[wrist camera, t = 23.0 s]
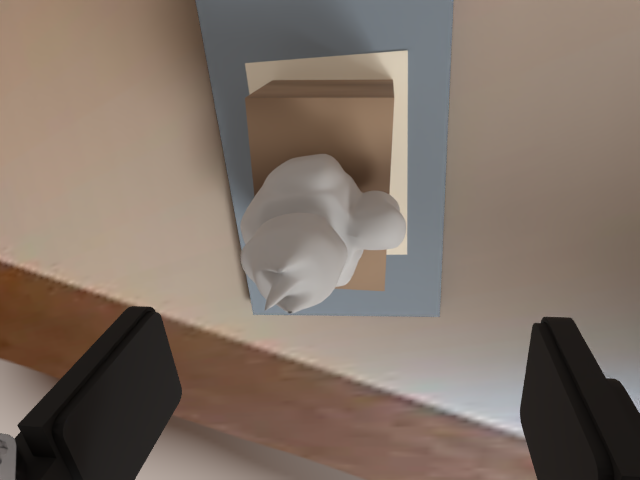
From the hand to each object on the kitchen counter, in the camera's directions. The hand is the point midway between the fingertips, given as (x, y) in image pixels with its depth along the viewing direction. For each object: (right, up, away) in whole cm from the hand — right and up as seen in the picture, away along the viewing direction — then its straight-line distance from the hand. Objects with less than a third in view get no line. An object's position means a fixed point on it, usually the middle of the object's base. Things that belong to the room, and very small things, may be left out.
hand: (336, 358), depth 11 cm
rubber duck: (0, +5, +9) cm, 10 cm away
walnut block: (0, +7, +13) cm, 15 cm away
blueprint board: (0, +7, +14) cm, 16 cm away
